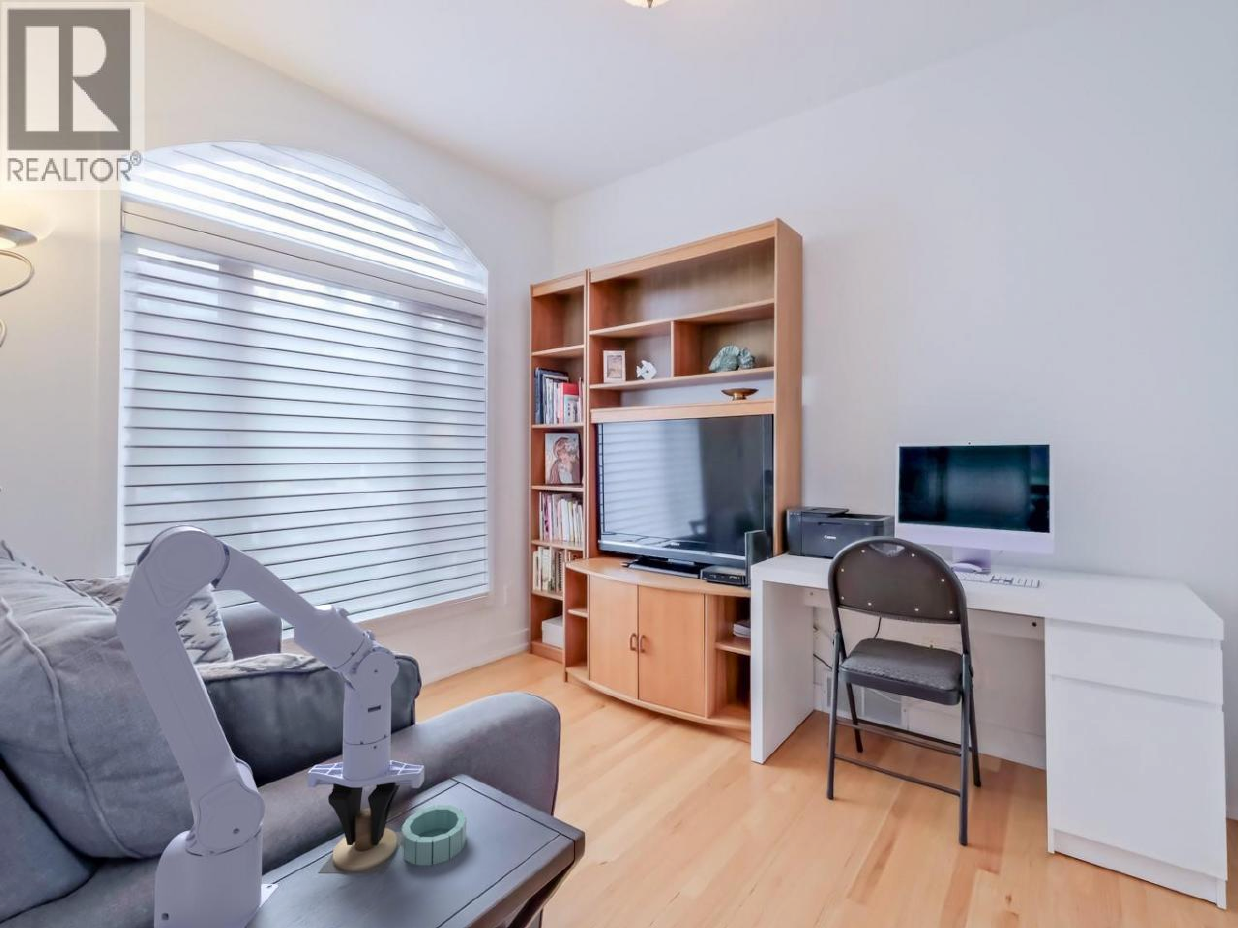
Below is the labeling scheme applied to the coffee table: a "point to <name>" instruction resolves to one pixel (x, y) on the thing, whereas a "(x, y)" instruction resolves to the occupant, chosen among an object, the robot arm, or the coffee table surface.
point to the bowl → (433, 835)
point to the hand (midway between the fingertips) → (365, 840)
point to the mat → (380, 868)
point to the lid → (364, 846)
